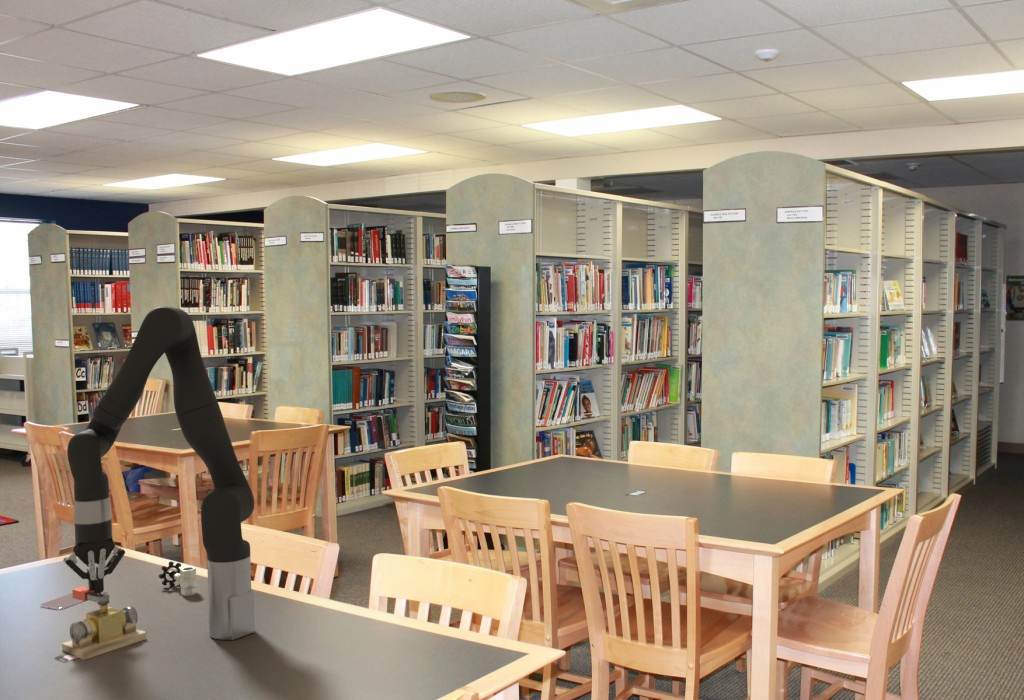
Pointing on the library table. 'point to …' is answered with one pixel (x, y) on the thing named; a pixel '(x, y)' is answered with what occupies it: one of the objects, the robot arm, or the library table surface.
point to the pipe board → (91, 649)
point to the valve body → (103, 624)
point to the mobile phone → (63, 602)
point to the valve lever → (90, 596)
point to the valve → (181, 578)
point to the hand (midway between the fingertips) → (96, 594)
